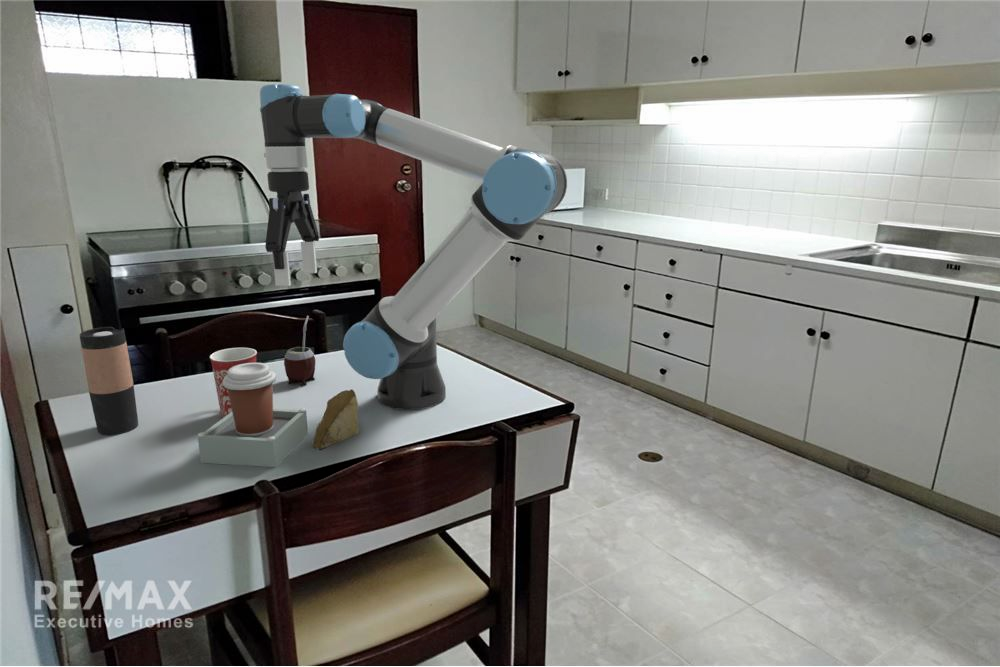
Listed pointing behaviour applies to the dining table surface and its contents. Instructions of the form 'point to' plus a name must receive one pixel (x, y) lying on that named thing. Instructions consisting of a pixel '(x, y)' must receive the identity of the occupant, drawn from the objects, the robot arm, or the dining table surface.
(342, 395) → the rock
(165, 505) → the dining table surface
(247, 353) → the mug
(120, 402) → the travel mug
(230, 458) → the pale green square tray
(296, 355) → the mate gourd
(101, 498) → the dining table surface
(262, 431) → the coffee cup
